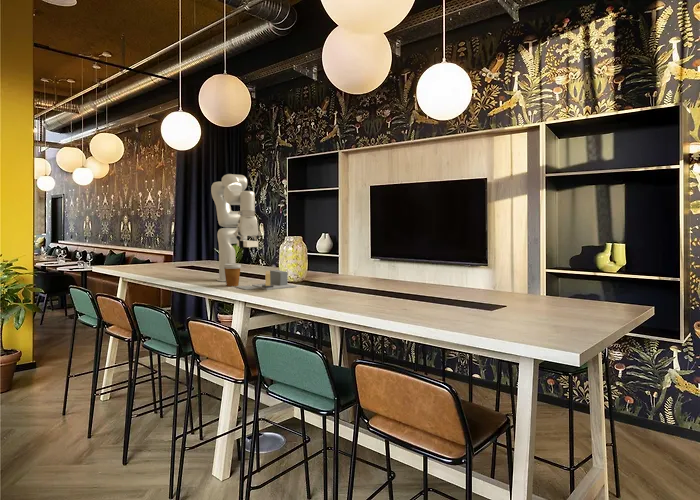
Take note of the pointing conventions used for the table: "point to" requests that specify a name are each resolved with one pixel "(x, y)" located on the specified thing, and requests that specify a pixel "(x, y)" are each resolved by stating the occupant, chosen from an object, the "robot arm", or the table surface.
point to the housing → (276, 281)
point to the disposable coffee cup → (232, 274)
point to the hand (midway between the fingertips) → (247, 247)
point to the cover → (249, 243)
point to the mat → (247, 287)
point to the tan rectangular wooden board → (267, 278)
